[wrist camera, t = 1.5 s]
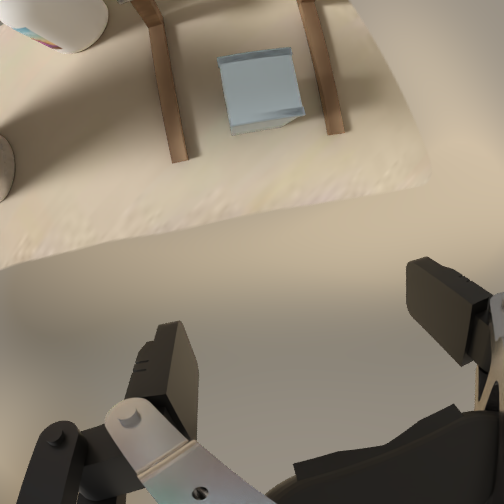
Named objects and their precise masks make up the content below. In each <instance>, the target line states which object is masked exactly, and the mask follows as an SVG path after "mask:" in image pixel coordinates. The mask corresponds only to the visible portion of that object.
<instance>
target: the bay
mask: <svg viewBox="0 0 504 504" xmlns="http://www.w3.org/2000/svg"><path fill="white" fill-rule="evenodd" d="M130 2H131V3H132V5H133V6H134V8H135V9H136V10H137V12H138V13H139V15H140V16H141V18H142V19H143V21H144V22H145V23H146V25H147V26H148V28H149V35H150V42H151V48H152V55H153V61H154V68H155V74H156V80H157V86H158V91H159V97H160V103H161V108H162V114H163V119H164V124H165V130H166V135H167V140H168V145H169V150H170V155H171V160H172V163H177V162H181V161H186V160H189V159H188V154H187V149H186V144H185V139H184V134H183V129H182V124H181V119H180V114H179V108H178V103H177V98H176V92H175V87H174V81H173V75H172V70H171V64H170V58H169V52H168V46H167V40H166V33H165V27H164V21H163V16H162V14H161V12H160V10H159V9H158V7H157V5H156V3H155V1H154V0H132V1H130ZM314 2H315V0H297V3H298V7H299V10H300V14H301V18H302V21H303V25H304V29H305V33H306V37H307V41H308V45H309V49H310V53H311V57H312V61H313V65H314V70H315V74H316V79H317V83H318V88H319V93H320V98H321V103H322V108H323V113H324V118H325V123H326V129H327V134H328V135H333V134H341V133H345V132H344V126H343V121H342V115H341V110H340V105H339V100H338V95H337V90H336V86H335V81H334V76H333V72H332V68H331V63H330V59H329V55H328V51H327V47H326V43H325V39H324V35H323V32H322V28H321V24H320V21H319V17H318V13H317V10H316V7H315V3H314Z"/></svg>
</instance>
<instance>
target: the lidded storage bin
mask: <svg viewBox="0 0 504 504" xmlns="http://www.w3.org/2000/svg"><path fill="white" fill-rule="evenodd" d="M217 62H218V67H219V68H220V73H221V80H222V87H223V93H224V98H225V103H226V108H227V113H228V118H229V123H230V128H231V134H232V136H233V135H239V134H244V133H249V132H255V131H261V130H267V129H273V128H279V127H282V126H284V125H285V124H287V123H289V122H290V121H292V120H294V119H296V118H297V117H301V116H304V115H305V110H304V107H302V102H301V97H300V93H299V88H298V83H297V79H296V74H295V69H294V65H293V61H292V50H291V47H286V48H277V49H268V50H260V51H253V52H246V53H240V54H234V55H228V56H222V57H217Z"/></svg>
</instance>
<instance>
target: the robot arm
mask: <svg viewBox="0 0 504 504" xmlns="http://www.w3.org/2000/svg"><path fill="white" fill-rule="evenodd" d="M14 171H15V163H14V155H13V151H12V149H11V146H10V144H9V143H8V141H7V140H6V139H5V138H4V137H3V136H1V135H0V202H1V201H2V200H3V199H4V198H5V197H6V196H7V194H8V192H9V190H10V189H11V186H12V183H13V178H14ZM406 304H407V308H408V311H409V313H410V315H411V316H412V317H413V318H414V319H415V320H416V321H417V322H418V323H419V324H420V325H421V326H422V327H423V328H424V329H425V330H426V331H427V332H428V333H429V334H430V335H431V336H432V337H433V338H434V339H435V340H436V341H437V342H438V343H439V344H440V345H441V346H442V347H443V348H444V350H446V351H447V353H448V354H449V355H451V357H452V358H453V359H454V360H455V361H456V362H457V363H458V364H459V365H460V366H461V367H462V366H464V365H466V364H468V363H470V362H472V361H473V360H474V361H475V362H476V363H477V367H476V373H475V374H476V375H475V404H474V405H475V406H474V411H469V412H463V413H461V412H460V411H459V410H458V408H457V407H456V406H455V405H454V404H452V405H450V406H448V407H446V408H444V409H442V410H440V411H438V412H436V413H434V414H432V415H430V416H428V417H426V418H424V419H422V420H420V421H418V422H417V423H416V424H414V425H413V426H412V427H410V428H409V429H407V431H405V432H403V433H402V434H401V435H399V436H398V437H396V438H395V439H393V440H392V441H390V442H389V443H387V444H385V445H382V446H376V447H370V448H363V449H356V450H347V451H338V452H335V453H331V454H328V455H324V456H321V457H317V458H314V459H310V460H306V461H302V462H298V463H294V464H293V466H294V470H295V474H296V475H295V476H293V477H291V478H288V479H287V480H285V481H283V482H281V483H280V484H278V485H276V486H275V487H274V488H272V489H271V490H270V491H269V492H267V493H266V494H265V495H264V494H262V493H261V492H259V491H258V490H256V489H255V488H254V487H253V486H251V485H250V484H249V483H247V482H246V481H245V480H243V479H242V478H241V477H239V476H238V475H237V474H236V473H234V472H233V471H232V470H231V469H229V468H228V467H227V466H226V465H224V464H223V463H222V462H221V461H220V460H218V459H217V458H216V457H215V456H214V455H213V454H211V453H210V452H209V451H208V450H207V449H205V448H204V447H203V446H202V445H201V444H200V443H199V442H197V412H198V411H197V410H198V384H199V370H198V364H197V360H196V357H195V355H194V352H193V350H192V347H191V344H190V342H189V339H188V336H187V334H186V331H185V328H184V326H183V324H182V322H181V321H175V322H170V323H165V324H161V325H159V326H158V328H157V332H156V335H155V339H154V341H149V342H147V343H146V344H145V345H144V346H143V347H142V349H141V350H140V351H139V353H138V356H137V359H136V364H135V365H134V368H133V373H132V375H131V378H130V382H129V385H128V388H127V392H126V395H125V399H124V400H123V401H121V402H119V403H117V404H116V405H115V406H113V407H112V408H111V409H110V410H109V412H108V413H107V415H106V418H105V424H102V425H100V426H97V427H94V428H91V429H87V430H84V431H81V432H80V431H79V429H78V428H77V426H76V425H75V424H74V423H72V422H70V421H59V422H55V423H53V424H51V425H50V426H48V427H47V428H46V429H45V430H44V431H43V432H42V433H41V434H40V436H39V439H38V441H37V443H36V446H35V449H34V452H33V455H32V457H31V460H30V463H29V466H28V468H27V472H26V474H25V478H24V480H23V484H22V486H21V490H20V493H19V496H18V500H17V503H16V504H76V502H77V504H126V493H130V492H133V491H136V490H140V489H143V488H146V489H147V490H148V492H149V493H150V494H151V495H152V497H153V498H154V499H155V500H156V502H157V503H158V504H504V292H502V293H497V294H495V295H494V296H493V295H492V294H491V293H489V292H487V291H486V290H484V289H483V288H482V287H480V286H479V285H477V284H476V283H474V282H473V281H470V280H469V279H468V278H466V277H465V276H462V274H460V273H459V272H457V271H455V270H454V269H451V268H447V267H444V266H442V265H440V264H438V263H437V262H435V261H434V260H432V259H430V258H429V257H423V258H420V259H417V260H413V261H410V262H408V264H407V266H406ZM78 492H79V494H78ZM77 497H78V500H77Z"/></svg>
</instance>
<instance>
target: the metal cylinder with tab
mask: <svg viewBox="0 0 504 504" xmlns="http://www.w3.org/2000/svg"><path fill="white" fill-rule="evenodd" d="M129 1H132V0H117V2H118V3H119V4H123V3H126V2H129Z"/></svg>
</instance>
